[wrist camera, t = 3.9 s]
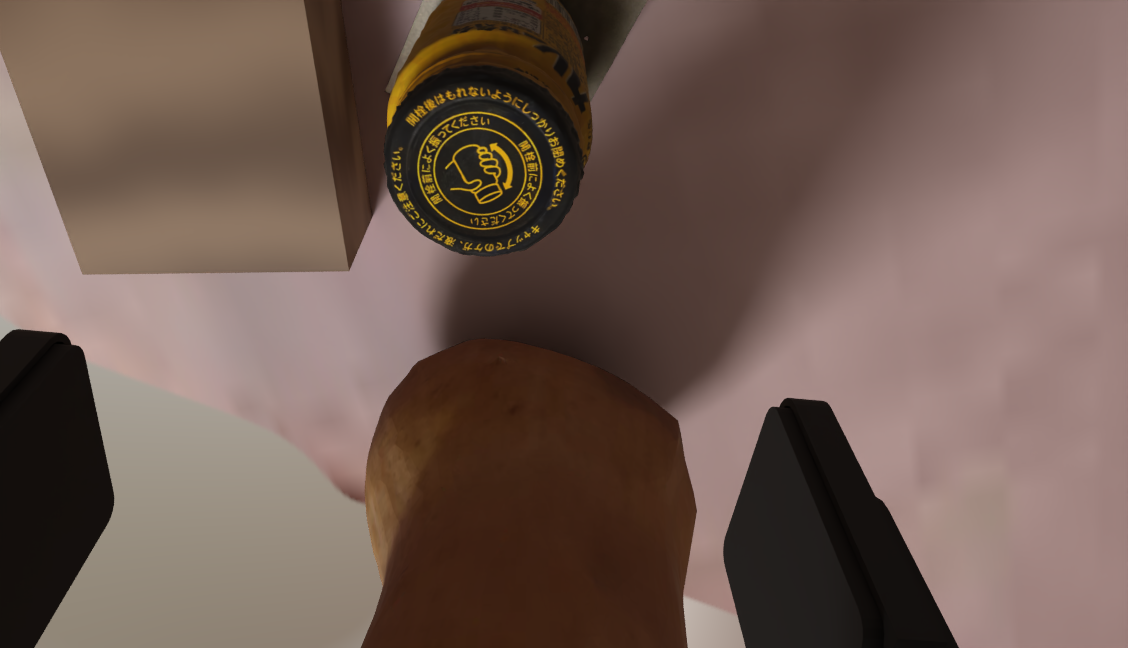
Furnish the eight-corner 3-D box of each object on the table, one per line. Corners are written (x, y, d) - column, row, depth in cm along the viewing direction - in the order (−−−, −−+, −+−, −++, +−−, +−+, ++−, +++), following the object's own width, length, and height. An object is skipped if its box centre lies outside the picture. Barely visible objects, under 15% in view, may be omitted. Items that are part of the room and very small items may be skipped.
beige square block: (60, -35, 30) (-22, -8, 25) (336, -38, 30) (301, -11, 26) (138, 217, 35) (82, 274, 31) (373, 215, 35) (348, 271, 31)
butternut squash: (385, 482, 43) (230, 1135, 22) (398, 259, 36) (187, 906, 15) (643, 509, 44) (730, 1147, 23) (704, 299, 37) (909, 943, 16)
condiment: (385, 90, 32) (311, 223, 22) (476, -129, 28) (437, -89, 18) (550, 171, 34) (553, 328, 24) (657, -23, 30) (714, 67, 20)
